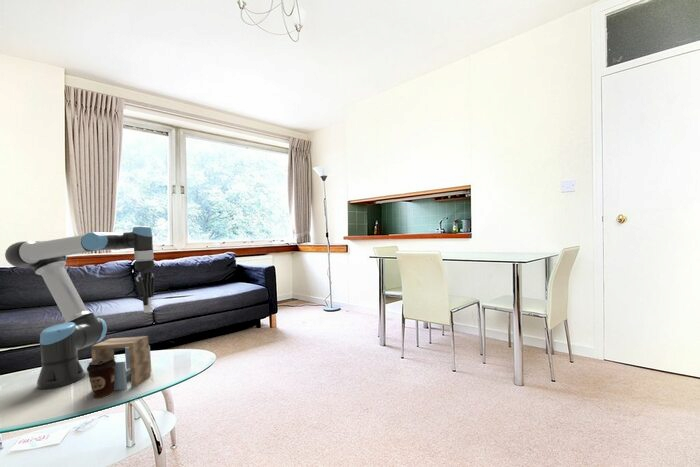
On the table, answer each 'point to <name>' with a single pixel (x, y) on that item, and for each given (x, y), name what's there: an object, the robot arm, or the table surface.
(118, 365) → the plunger
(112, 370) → the coffee cup
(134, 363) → the tunnel
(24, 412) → the table surface
